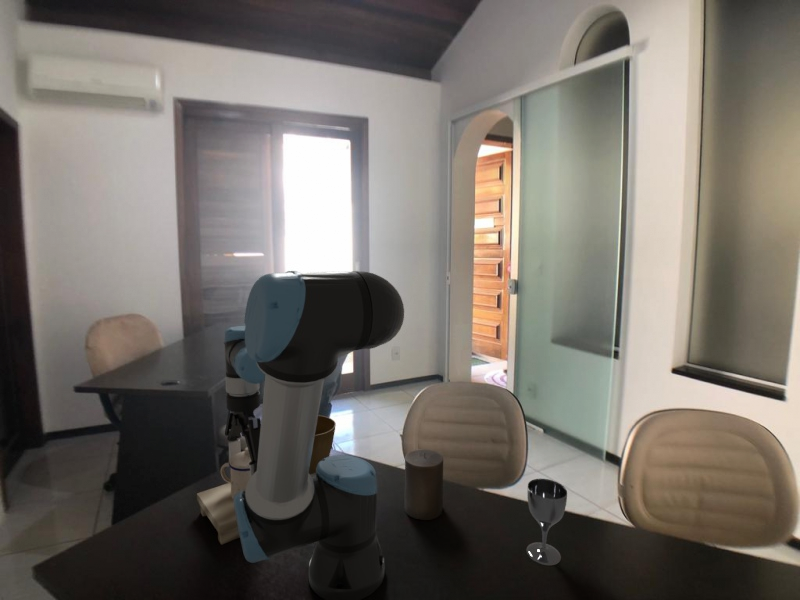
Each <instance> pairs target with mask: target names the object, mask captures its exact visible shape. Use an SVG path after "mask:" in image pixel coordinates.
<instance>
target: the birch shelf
mask: <svg viewBox="0 0 800 600" xmlns="http://www.w3.org/2000/svg"><path fill="white" fill-rule="evenodd" d="M196 502H197V503H198V504H199V506H200V507H199V510H200V514H201V516H202V517H204V518H205V517H207V518H208V519H209V521H210V522H211V524H212V526H213V527H214V529H216V532H217V539H218V542H219V544H220V545H224V544H226V543H229V542H232V541H234V540H237V539H239V538H240V535H239V530H238V525H237V520H236V514H235V509H234V502H233V499H232V497H231V483H228V482H226V483H224V484H222V485H219V486H216V487H212V488H209V489H207V490H203V491H200V492H198V493H196Z"/></svg>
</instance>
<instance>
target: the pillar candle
mask: <svg viewBox="0 0 800 600" xmlns="http://www.w3.org/2000/svg"><path fill="white" fill-rule="evenodd" d="M443 486H444V457H443V455H442V454H441V453H440V452H438V451H435V450H432V449H427V448H425V449H424V448H420V449H413V450H411V451H409V452H407V453H406V454H405V456H404V511H405V513H406V515H408V516H409V517H411V518H413V519H415V520H421V521H432V520H435V519H437V518H439V517H440V516H441V515H442V514H443V503H444V502H443V501H444V499H443V498H444V497H443V496H444V495H443V493H444V487H443Z"/></svg>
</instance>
